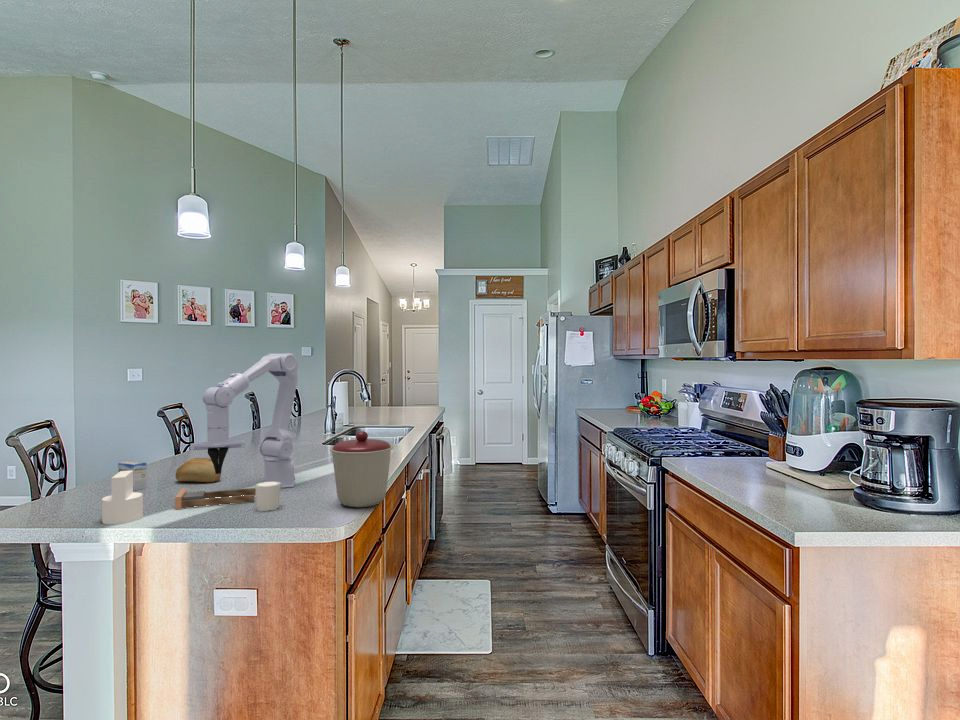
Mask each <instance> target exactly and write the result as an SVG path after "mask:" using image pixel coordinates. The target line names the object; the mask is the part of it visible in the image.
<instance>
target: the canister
mask: <svg viewBox="0 0 960 720" xmlns="http://www.w3.org/2000/svg"><path fill="white" fill-rule="evenodd" d="M393 448H394V445H393V444H391V443H390V442H388V441H386V440H382V439H377V438H376V439H375V438H374V439H373V438H369V434H368V433H367V431H365V430H362V431H361V430H360V431H357V432H356V433H355V439H348V440H347V439H346V440H343V441H340V442H336V443H335V444H333V446H331V447H330V448H329V451H330V452H331V454H332V463H333V473H334V480H335V481H334V482H335V488H336V495H337V499H338V501H339V502H340V504H341V505H343V506H346V507H348V508H349V507H350V508H368V507H373V506H376V505H377V506H378V504H381V503H382V502H383V501H384V499H385V498H386V496H387V495H386V494H387V490H388V489H387V488H388V480H389V474H390V473H389V471H390V462H391V451H392V450H393Z"/></svg>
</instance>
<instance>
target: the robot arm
mask: <svg viewBox="0 0 960 720" xmlns="http://www.w3.org/2000/svg"><path fill="white" fill-rule="evenodd" d="M298 368H299V360H298V359H297V358H296V356H295V355H294V353H291V352H287V353H274V352H271V353H270V352H269V353H267V354H266V355H264V356H262V357H261V359H260V360H259V361H257V362H256V363H254V364H252V365H251V366H250V367H249V368H248V369H247V370H245V371H244V372H242V373H240V372H236V373H231V374H229V377H228V378H227V379H225V380H223V381H220V382H218V383H217V385H216V386H212V387H208V388H207V389H206V390H205V392H204V395H203V396H202V397H201V398H202V402H203V404H204V406H205V410H206V416H207V417H206V421H207V422H206V423H207V424H206V425H207V426H206V427H207V429H206V430H207V431H206V432H207V433H206V436H207V437H206V438H207V439H206V440H207V441H204V442H193V443H190V444H189V445H190V446H189V447H190V448H189V450H190V452H191V451H205V450H207V454H208V456H209V459H211V460H212V462H213V465H214V468H215V474H221V475H222V468H223V464H224V461H225V459H226V456H227V453H228V451H229V449H239V448H241V449H243V448H246V441H245V440H230V439H229V438H230V437H229V435H230V434H229V433H230V432H229V429H230V428H229V427H230V426H229V425H230V424H229V422H230V421H229V416H230V415H229V406H230V405H231V404H232V403H233V400H234V398H236V397H238V396H239V395H240V394H241V393H243V392H244V391H246V390H247V389H249V386H250V383H251V382H252V381H254V380H256V379H257V378H259V377H261V376H262V375H264V374H265V373H270V375H272V376H273V377H274V378H275V379H276V380H277V382H278V383H279V385H278V390H277V395H276V400H275V405H274V410H273V414H272V415H273V416H272V420H271V424H270V429H268V431H266V432H265V433H264V434H263V438H262V440H261V441H260V444H259V445H258V449H259V450H258V451H259V454H260V455H261V457H262V459H263V460H264V461H263V462H264V482H269V481H277V482H280V483H281V488H282V489H283V488H294V487H295V481H296V475H295V459H294V457H293V458H290V457H291V455H292V454H293V450H294V449H293V436H292V435H291V433H290V432H289V426H290V423H291V417H292V412H293V411H292V410H293V407H294V401H295V395H296V390H297V386H298V385H297V384H298ZM281 488H280V489H281Z"/></svg>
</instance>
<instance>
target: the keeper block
mask: <svg viewBox="0 0 960 720" xmlns="http://www.w3.org/2000/svg"><path fill="white" fill-rule="evenodd" d="M205 492H206V490H202V491H201V490H200V491H187V493H186V494H185V495H184V497H183V501H186V500H197V499H205Z"/></svg>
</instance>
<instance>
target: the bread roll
mask: <svg viewBox="0 0 960 720" xmlns="http://www.w3.org/2000/svg"><path fill="white" fill-rule="evenodd" d="M221 476H222V473H221V474H215V468H214V465H213V462H212V460H211V458H210V457H209V458H208V457H200V458H199V457H196V458H192V459H190V460H188V461H186V462H184V463H183V464H181V465H180V466H179V467H178V468H177V470H176V472H175V479H176V481H178V482H196V483H197V482H198V483H216V482H218V481H220V479H221ZM215 481H216V482H215Z"/></svg>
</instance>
